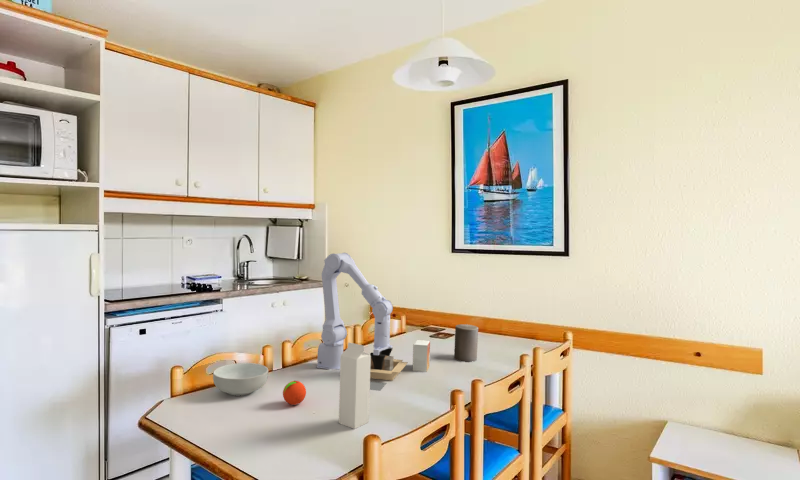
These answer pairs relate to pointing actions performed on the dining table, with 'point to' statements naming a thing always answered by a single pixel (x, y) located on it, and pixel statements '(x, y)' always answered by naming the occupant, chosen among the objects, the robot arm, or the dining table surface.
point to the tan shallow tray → (388, 375)
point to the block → (385, 363)
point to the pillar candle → (466, 343)
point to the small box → (421, 355)
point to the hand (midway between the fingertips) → (381, 369)
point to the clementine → (294, 392)
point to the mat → (376, 385)
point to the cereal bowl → (240, 378)
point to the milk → (354, 386)
